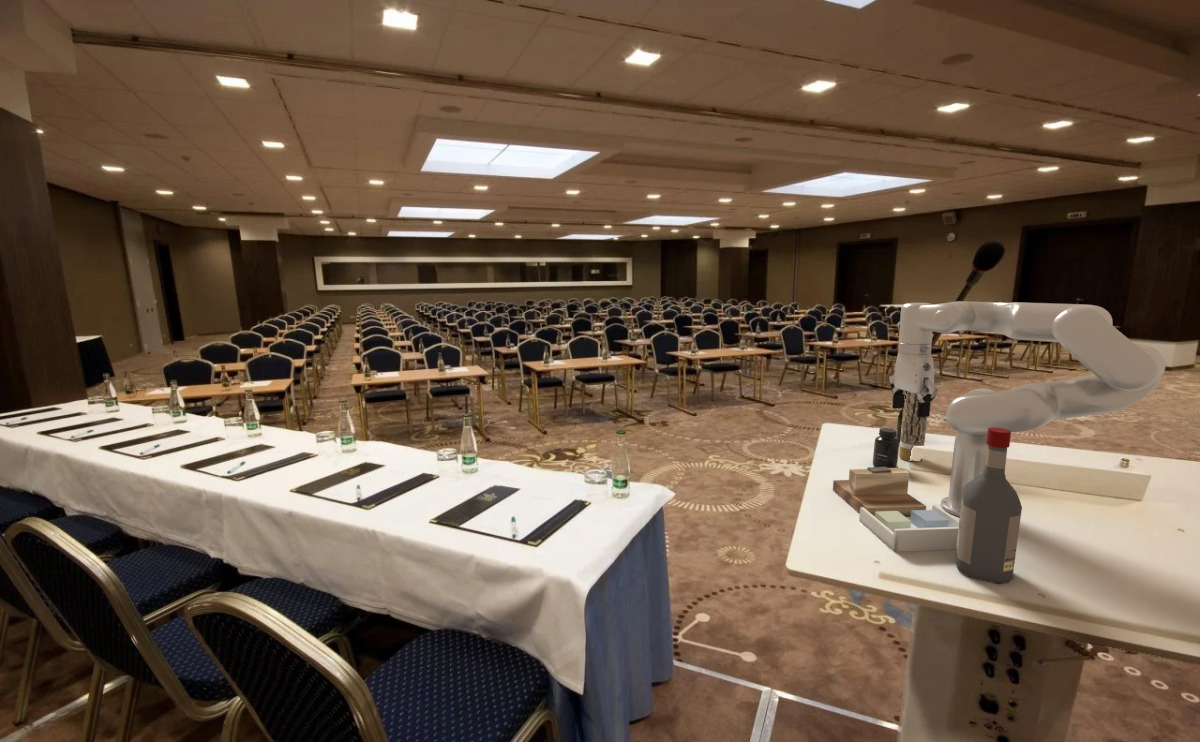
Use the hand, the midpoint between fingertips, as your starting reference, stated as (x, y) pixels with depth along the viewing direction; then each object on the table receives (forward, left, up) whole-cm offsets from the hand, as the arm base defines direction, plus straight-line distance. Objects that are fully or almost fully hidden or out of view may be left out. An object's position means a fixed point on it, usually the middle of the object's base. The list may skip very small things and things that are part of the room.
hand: (910, 412), depth 145 cm
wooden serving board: (-7, +11, -23) cm, 26 cm away
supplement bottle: (+19, -6, -23) cm, 31 cm away
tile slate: (-22, +7, -22) cm, 32 cm away
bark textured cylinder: (+25, -18, -23) cm, 39 cm away
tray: (-24, +11, -23) cm, 35 cm away
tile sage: (-22, +16, -22) cm, 35 cm away
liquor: (-40, +7, -23) cm, 46 cm away
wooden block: (-7, +11, -20) cm, 24 cm away
